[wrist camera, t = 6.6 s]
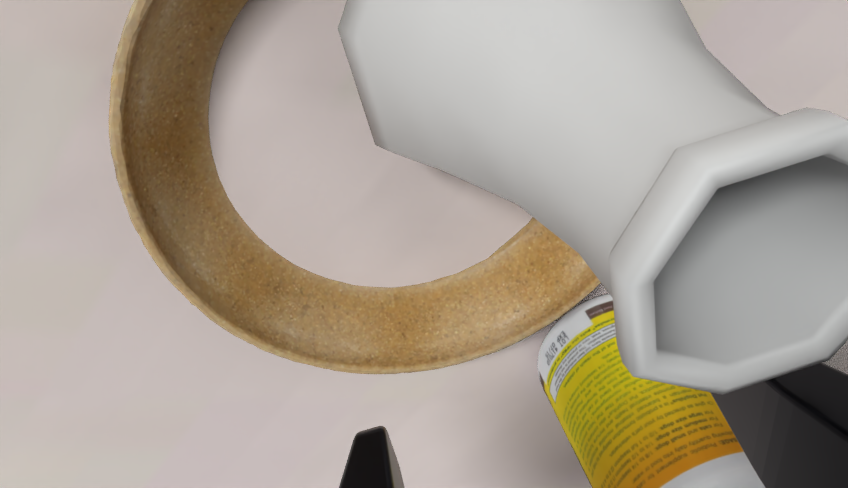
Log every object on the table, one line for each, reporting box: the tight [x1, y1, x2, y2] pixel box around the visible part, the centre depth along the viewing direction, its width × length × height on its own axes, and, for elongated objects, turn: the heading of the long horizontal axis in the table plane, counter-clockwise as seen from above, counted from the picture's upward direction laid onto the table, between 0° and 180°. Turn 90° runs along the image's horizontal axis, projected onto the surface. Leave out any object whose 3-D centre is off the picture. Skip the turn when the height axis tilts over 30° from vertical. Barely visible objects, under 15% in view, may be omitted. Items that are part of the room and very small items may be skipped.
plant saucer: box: [109, 0, 601, 374], centre depth 17 cm, size 15×15×3 cm
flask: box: [338, 0, 848, 395], centre depth 10 cm, size 7×7×10 cm
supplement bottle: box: [537, 294, 765, 488], centre depth 20 cm, size 6×6×10 cm
